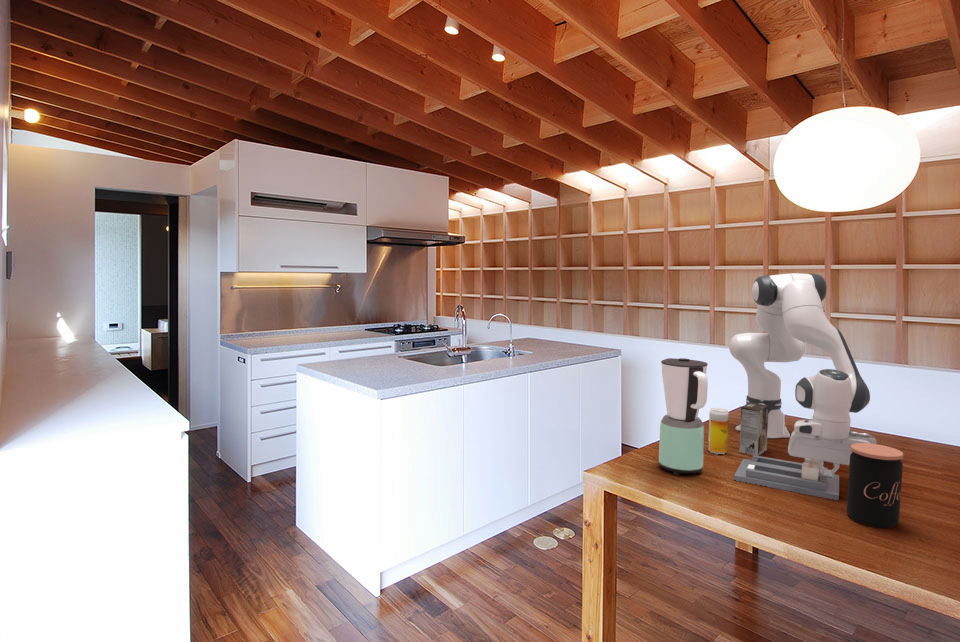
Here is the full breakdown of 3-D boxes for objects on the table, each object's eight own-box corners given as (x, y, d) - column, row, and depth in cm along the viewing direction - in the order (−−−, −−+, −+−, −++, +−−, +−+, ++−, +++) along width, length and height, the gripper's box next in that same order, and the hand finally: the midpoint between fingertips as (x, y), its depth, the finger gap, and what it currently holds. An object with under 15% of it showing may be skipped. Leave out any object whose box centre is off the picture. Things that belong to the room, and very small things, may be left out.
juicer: (647, 462, 177) (650, 356, 174) (683, 459, 180) (687, 354, 177) (681, 483, 158) (685, 365, 155) (721, 479, 161) (725, 363, 158)
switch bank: (743, 463, 176) (743, 452, 176) (838, 480, 162) (839, 468, 161) (733, 480, 161) (734, 468, 161) (838, 500, 147) (839, 488, 146)
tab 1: (804, 471, 164) (805, 453, 163) (820, 473, 162) (821, 455, 161) (804, 475, 160) (805, 456, 160) (819, 478, 158) (820, 459, 158)
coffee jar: (860, 528, 131) (865, 455, 129) (837, 509, 141) (841, 441, 140) (909, 530, 129) (914, 457, 128) (882, 511, 140) (886, 443, 138)
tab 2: (801, 479, 157) (803, 460, 157) (818, 482, 155) (819, 463, 155) (801, 483, 154) (802, 464, 154) (817, 486, 152) (818, 467, 151)
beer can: (729, 455, 183) (731, 412, 182) (710, 454, 184) (711, 411, 183) (724, 450, 189) (726, 408, 188) (706, 449, 190) (707, 407, 189)
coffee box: (747, 446, 193) (749, 402, 192) (767, 450, 189) (769, 405, 187) (738, 452, 187) (740, 406, 186) (758, 456, 182) (760, 409, 181)
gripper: (876, 431, 148) (872, 480, 149) (790, 420, 159) (787, 466, 160) (877, 437, 143) (874, 488, 144) (788, 425, 154) (786, 472, 155)
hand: (827, 476), depth 152 cm, fingers closed
